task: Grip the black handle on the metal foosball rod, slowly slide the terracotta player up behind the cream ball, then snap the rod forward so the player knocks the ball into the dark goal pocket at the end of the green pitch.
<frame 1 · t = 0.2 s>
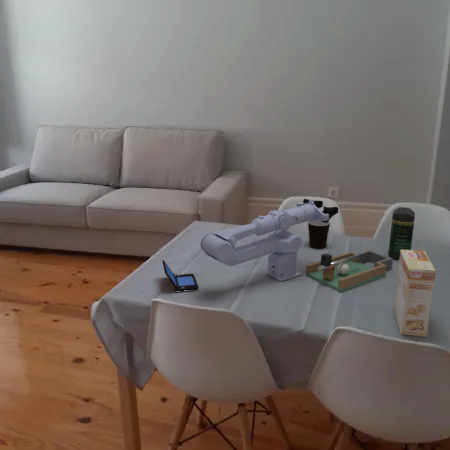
hand: (329, 206, 183), 21 cm above the table, tool horizontal, fingers open, 7 cm apart
coffeecake box: (409, 323, 147), on the table
coffee jar: (399, 256, 195), on the table
pitch: (345, 275, 178), on the table
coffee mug: (319, 245, 206), on the table
handheld game console: (180, 285, 172), on the table
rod: (339, 262, 174), point 6 cm above the table, slide at 0.0 cm
ball: (343, 268, 176), point 3 cm above the table, touching pitch
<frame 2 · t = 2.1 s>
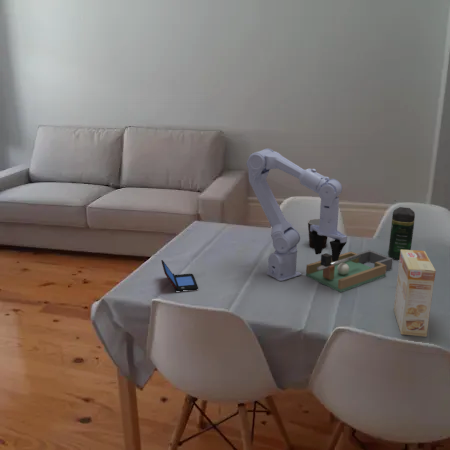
hand: (326, 257, 169), 9 cm above the table, tool pointing down, fingers open, 7 cm apart
nothing on the table moved.
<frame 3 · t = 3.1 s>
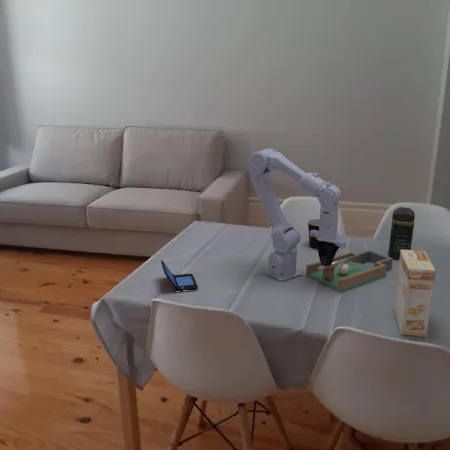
hand: (326, 262, 170), 7 cm above the table, tool pointing down, fingers closed on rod, 2 cm apart
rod: (339, 262, 174), point 6 cm above the table, slide at 0.0 cm, touching gripper
everything else where it was.
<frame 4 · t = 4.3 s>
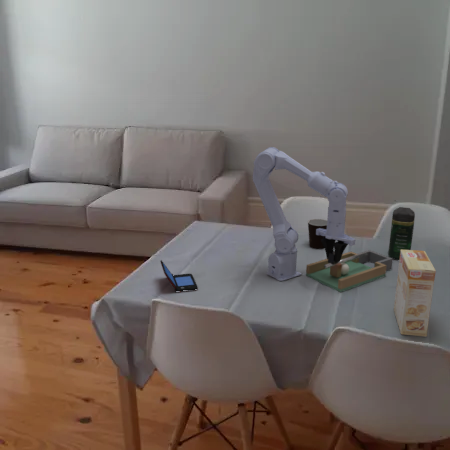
hand: (333, 260, 172), 7 cm above the table, tool pointing down, fingers closed on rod, 3 cm apart
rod: (346, 260, 176), point 6 cm above the table, slide at 3.3 cm, touching gripper
everything else where it was.
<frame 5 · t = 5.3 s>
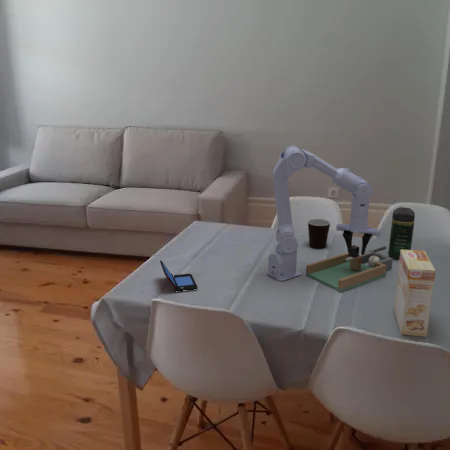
hand: (356, 252, 178), 7 cm above the table, tool pointing down, fingers open, 4 cm apart
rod: (366, 254, 181), point 6 cm above the table, slide at 13.2 cm, touching gripper
ball: (374, 261, 185), point 2 cm above the table, tilted 77°
everything else where it was.
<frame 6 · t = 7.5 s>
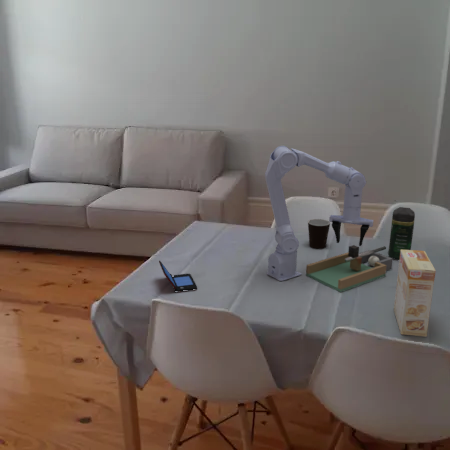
hand: (349, 243, 179), 10 cm above the table, tool pointing down, fingers open, 7 cm apart
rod: (365, 254, 181), point 6 cm above the table, slide at 13.1 cm
ball: (373, 261, 185), point 2 cm above the table, tilted 71°
everything else where it was.
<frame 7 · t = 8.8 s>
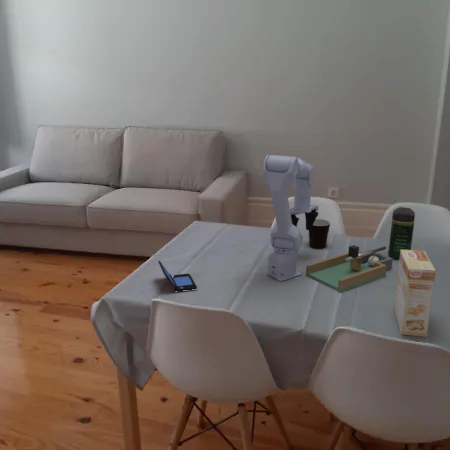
hand: (301, 232, 190), 10 cm above the table, tool pointing down, fingers open, 7 cm apart
nothing on the table moved.
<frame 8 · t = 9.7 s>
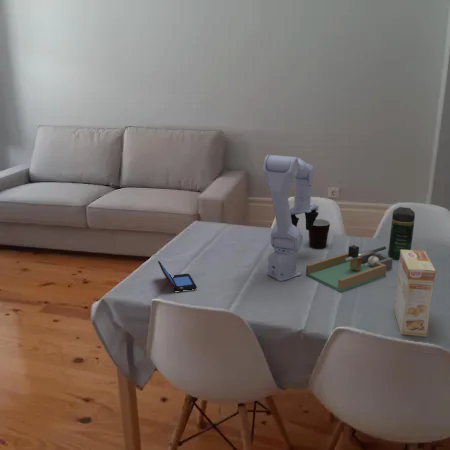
hand: (301, 232, 190), 10 cm above the table, tool pointing down, fingers open, 7 cm apart
nothing on the table moved.
at the end: ball inside the target area (0.4 cm from its centre), point 2.0 cm above the table; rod slide at 13.1 cm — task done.
